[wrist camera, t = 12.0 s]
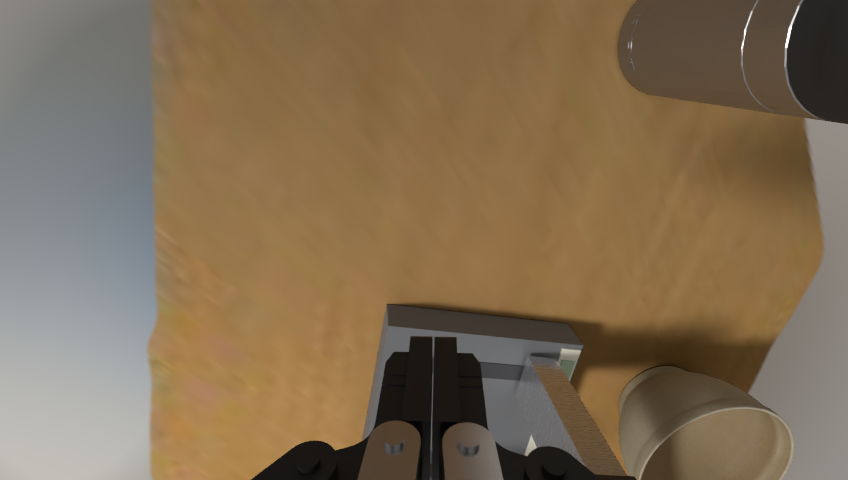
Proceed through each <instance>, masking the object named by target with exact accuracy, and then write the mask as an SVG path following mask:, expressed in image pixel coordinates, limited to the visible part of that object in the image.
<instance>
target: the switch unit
mask: <svg viewBox="0 0 848 480" xmlns="http://www.w3.org/2000/svg"><path fill="white" fill-rule="evenodd" d="M411 336H433V372H432V410H433V373H434V337H456V338H457V353H473V354H474V356H475V357H476V359H477V360H478V361H479V363H480V364H481V373H482V381H483V390H484V399H485V407H486V416H487V425H488V430H489V432H490V433H491V434H492V436H493V438H494V440H495V441H496V442H497V443H498V444H499V445H500V446H502V447H503V448H505V449H507V450H509V451H512V452H515V453H518V454H521V455H525V456H528V454H529V453H530V452H531V451H532V450H534V449H536V448H537V447H536V445H535V442H534V440H533V437H532V435H531V433H530V430H529V428H528V426H527V423H526V421H525V418H524V416H523V414H522V411H521V409H520V407H519V404H518V402H517V400H516V397H515V394H516V391H517V388H518V385H519V382H520V379H521V375H522V372H523V369H524V366H525V363H526V360H527V357H528V356H535V357H546V358H556V359H557V361H558V363H559V364H560V366H561V368H562V369H563V371H564V373H565V374H566V376H567V378H568V379H569V381H571V378H572V376H573V373H574V370H575V368H576V365H577V362H578V360H579V357H580V354H581V352H582V349H583V346H584V345H583V344H582V343H581V341H580V340H579V338H578V337H577V336H576V334H575V333H574V332H573V330H572V329H571V327H570V326H569V325H568V324H564V323H555V322H546V321H537V320H528V319H518V318H509V317H500V316H491V315H482V314H472V313H463V312H454V311H445V310H436V309H427V308H417V307H408V306H399V305H390V304H387V306H386V312H385V317H384V323H383V328H382V334H381V339H380V345H379V351H378V356H377V362H376V367H375V373H374V378H373V384H372V389H371V395H370V400H369V406H368V411H367V417H366V422H365V428H364V433H363V439H362V441H363V440H364V439H365V438H367V437H368V436H369V434H370V433H371V432H372V430H373V428H374V425H375V421H376V415H377V409H378V404H379V398H380V392H381V387H382V381H383V377H384V369H385V363H386V361H387V360H388V359H389V357H390V356H391V355H392V353H393V352H409V346H410V337H411ZM430 480H432V417H431V451H430Z"/></svg>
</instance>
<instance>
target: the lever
mask: <svg viewBox="0 0 848 480" xmlns="http://www.w3.org/2000/svg"><path fill="white" fill-rule="evenodd" d="M515 397H516V400H517V402H518V404H519V407H520V409H521V411H522V414H523V416H524V418H525V421H526V423H527V426H528V428H529V430H530V433H531V435H532V437H533V440H534V442H535V445H536V447H537V448H539V447H543V446H551V447H556V448H560V449H562V450H564V451H566V452H568V453H569V454H571V455H572V456H573V457H574V458H576V459H577V460H578V461H579V462H580V463H582V464H583V465H584V466H585V467H586V468H588V469H589V470H590V471H591V472H593V473H594V474H595V475H596V476H597V477H599V478H600V479H601V480H637V479H636V478H635V476H627V475H626V473H625V471H624V470H623V468H622V466H621V465H620V463H619V461H618V460H617V458H616V456H615V455H614V453H613V452H612V450H611V448H610V447H609V445H608V443H607V442H606V440H605V438H604V437H603V435H602V433H601V432H600V430H599V429H598V427H597V425H596V424H595V422H594V420H593V419H592V417H591V415H590V414H589V412H588V410H587V409H586V407H585V406H584V404H583V402H582V401H581V399H580V397H579V396H578V394H577V392H576V391H575V389H574V387H573V386H572V384H571V382H570V381H569V379H568V378H567V376H566V374H565V373H564V371H563V369H562V368H561V366H560V364H559V363H558V361H557V359H556V358H546V357H535V356H528V357H527V360H526V363H525V366H524V369H523V372H522V375H521V379H520V382H519V385H518V388H517V391H516V394H515Z"/></svg>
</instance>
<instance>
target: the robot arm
mask: <svg viewBox="0 0 848 480" xmlns="http://www.w3.org/2000/svg"><path fill="white" fill-rule="evenodd" d="M618 58H619V62H620V67H621V69H622V72H623V74H624V76H625V78H626V79H627V80H628V81H629V83H630V84H631V85H632V86H633V87H635V88H636V89H637V90H639V91H641V92H643V93H646V94H649V95H655V96H662V97H668V98H675V99H680V100H686V101H693V102H700V103H707V104H714V105H720V106H727V107H734V108H741V109H747V110H754V111H761V112H768V113H774V114H781V115H790V116H797V117H803V118H810V119H817V120H824V121H831V122H838V123H845V124H848V0H637V1H636V3H635V4H634V5H633V6H632V8H631V9H630V11H629V13H628V14H627V16H626V18H625V20H624V23H623V26H622V28H621V31H620V36H619V42H618ZM432 372H433V336H411V337H410V346H409V352H393V353H392V355H391V356H390V357H389V359H388V360H387V361H386V363H385V369H384V377H383V381H382V387H381V392H380V398H379V404H378V409H377V415H376V421H375V425H374V428H373V430H372V432H371V433H370V434H369V436H368V437H367V438H365V439H364V440H363V441H361V442H360V443H358V444H356V445H354V446H351V447H347V448H343V449H339V450H336V451H335V450H334V449H333V448H332V447H331V446H330V445H329V444H327V443H325V442H322V441H308V442H304V443H301V444H299V445H297V446H295V447H294V448H292V449H291V450H290V451H288V452H287V453H286V454H284V455H283V456H282V457H280V458H279V459H278V460H276V461H275V462H274V463H272V464H271V465H270V466H269V467H267V468H266V469H265V470H263V471H262V472H261V473H259V474H258V475H257V476H255V477H254V478H253V479H251V480H430V451H431V417H432V480H601V479H600V478H599V477H597V476H596V475H595V474H594V473H593V472H591V471H590V470H589V469H588V468H586V467H585V466H584V465H583V464H582V463H580V462H579V461H578V460H577V459H576V458H574V457H573V456H572V455H571V454H569V453H568V452H566V451H564V450H562V449H560V448H556V447H551V446H543V447H539V448H536V449H534V450H532V451H531V452H530V453H529V454H528V456H525V455H521V454H518V453H515V452H512V451H509V450H507V449H505V448H503V447H502V446H500V445H499V444H498V443H497V442H496V441H495V440H494V438H493V436H492V434H491V433H490V432H489V430H488V425H487V416H486V407H485V399H484V390H483V381H482V373H481V364H480V363H479V361H478V360H477V359H476V357H475V356H474V354H473V353H457V338H456V337H434V373H433V410H432Z"/></svg>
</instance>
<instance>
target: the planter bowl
mask: <svg viewBox="0 0 848 480" xmlns="http://www.w3.org/2000/svg"><path fill="white" fill-rule="evenodd" d="M619 413H620V421H619V442H620V449H621V454H622V458H623V461H624V465H625V467H626V470H627V472H628V475H629V476H635V478H636V479H637V480H782V478H783V477H784V476H785V474H786V472H787V471H788V469H789V467H790V464H791V462H792V459H793V454H794V438H793V434H792V431H791V429H790V427H789V426H788V424H787V423H786V422H785V421H784V420H783V419H782V418H781V417H780V416H779V415H778V414H776V413H775V412H774V411H772V410H771V409H769V408H767V407H765V406H763V405H762V404H761V403H760V402H758V401H757V400H756V399H754V398H753V397H752V396H750V395H749V394H747V393H746V392H744V391H742V390H741V389H739V388H737V387H735V386H734V385H731V384H729V383H727V382H725V381H723V380H720V379H718V378H714V377H711V376H708V375H704V374H700V373H694V372H686V371H685V370H683V369H681V368H678V367H673V366H661V367H656V368H652V369H649V370H647V371H645V372H643V373H641V374H639V375H638V376H636V377H635V378H634V379H633V380H631V381H630V382H629V383H628V385H627V386H626V387H625V389H624V390H623V392H622V394H621V396H620V399H619Z"/></svg>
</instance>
